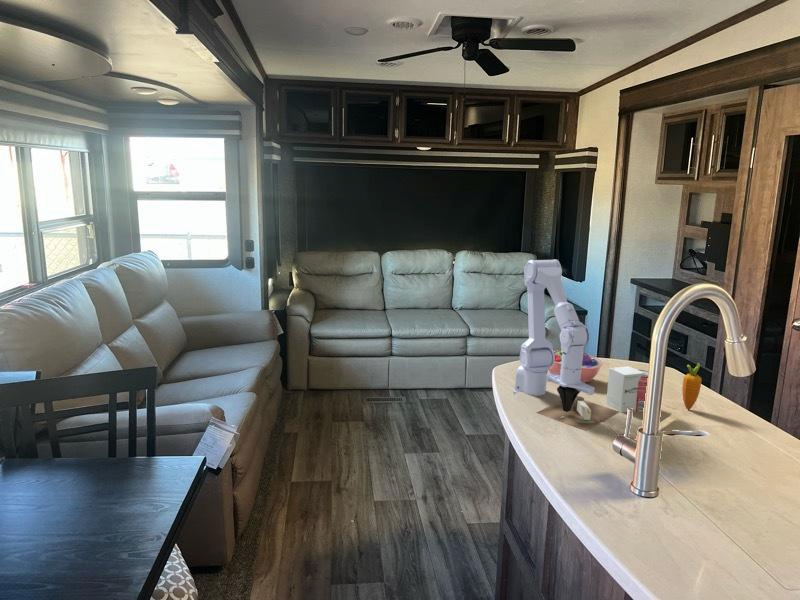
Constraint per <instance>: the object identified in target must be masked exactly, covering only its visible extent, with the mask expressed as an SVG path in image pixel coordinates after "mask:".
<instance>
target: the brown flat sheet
mask: <svg viewBox="0 0 800 600" xmlns="http://www.w3.org/2000/svg"><path fill="white" fill-rule="evenodd" d="M584 402H585V404H586V405H587V406H588V407H589V408H590V409H591V416H590V420H584V418H583V417H582V416H581V415H580V413H579V412H578V411H574V410H573V405H572V408H571V411H569V412H565V411H563V406H562V401H561V400H560V401H558V402H556V403H553V404H551V405H549V406H547V407H545V408H543V409H540V410H539V411H537V412H536V414H539V415H541V416H544V417H547V418H549V419H552V420H555V421H557V422H561V423H562V424H565V425H568V426H571V427H573V428H577V429H579V430H582V431H585V432H587V431H588V430H591V429H592V428H594V427H596V426H597V425H599V424H601V423H602V422H603V423H604V422H606V420H608V419H610V418H612V417H613V416H616V415H617V414H619V413H620V412H619V411H617V410H616V409H614V408H609V407H606V406H603V405H601V404H597V403H594V402H592V401H588V400H585V399H584Z"/></svg>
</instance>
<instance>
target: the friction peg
mask: <svg viewBox="0 0 800 600" xmlns="http://www.w3.org/2000/svg"><path fill="white" fill-rule="evenodd" d="M584 400H585V398H584V397H583V396H579V395H577V397H576V399H575V400H574V402H573V410H574V411H578V412H579V413H580V415H581V416H582V417H583V418H584V420H590V416H591V409H590V408H589V407H588V406H587V405H586V404H585V402H584Z"/></svg>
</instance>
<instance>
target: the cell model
mask: <svg viewBox="0 0 800 600" xmlns="http://www.w3.org/2000/svg"><path fill="white" fill-rule="evenodd" d="M553 352H554V356H555V361H554V364H553V366H551V367H550V370H548V372H549V374H554V375H559V376H560V371H561V361H562V350H553ZM602 366H603V362H602V361H601V358H599V357H596V356H594V355H591V354H589V353H587V352H585V351H583V360H582V369H581V379H580V381H582V382H583V383H585V384H588V383H590V382H591V381H592V380H593V379H594V378H595V377H596V376H597V374H598V373H599V371H600V369H601V368H602Z"/></svg>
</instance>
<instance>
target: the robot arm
mask: <svg viewBox="0 0 800 600" xmlns="http://www.w3.org/2000/svg"><path fill="white" fill-rule="evenodd" d="M523 271H524V272H523V277H524V280H523V281H524V286H525V287H526V288H527V315H528V316H527V318H528V320H527V321H528V339H526V341H524V342H523V343H522V344H521V345H520V353H519V362H520V365H519V367H517V370H516V373H515V383H514V390H513V393H514V394H517V393H519V392H523V393H524V394H527V395H530V396H535V397H537V396H544V395H546V392H547V382H549V383H550V382H552V383H554V384H557V385H559V386H558V387H557V388H556V390H557V393H558V395H559V397H560V401H562V406H563V411H565V412H569V411H571V408H572V405H573V402H574V400H575V399H576V397H577V396H579V394H580V393H581V392H582V393H584V394H586V395H588V396H593V395H594V394H595V386H592V385H589V384H588V383H583V382H582V381H580V379H581V369H582V360H583V352H584V349H585V346H587V345H588V344H589V341H590V332H589V329H588V327H587V326H586V325H584V323H583V322H581V321H580V319H579V317H578V314H577V312H576V310H575V307H574V305H573V304H572V303H570V302H568V299H567V295H566V293H565V289H564V287H563V283H562V279H561V278H562V276H563V275H562V274H563V269H562V265H561V263H560V261H559V260H558V259H555V258H554V259H536V260H534V259H529V260H528V261H527V263H525V265H524V268H523ZM545 289H547V292H548V293H549V295H550V297H551V299H552V301H553V303H554V305H555V306H554V309H553V313H554V316H555V318H556V320H557V324H558V326H559V329H560V333H559V341H560V349H561V350H560V351H562V361H561V371H560V376H559V375H554V374H550V373H548V372H549V370H550V367H551V366H553V364H554V361H555V356H554V352H553V351H554V350H553V349H554V348H553V343H551V342H550V341H548V340H547V339H546V313H545V311H546V310H545V309H546V308H545V307H546V306H545Z"/></svg>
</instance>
